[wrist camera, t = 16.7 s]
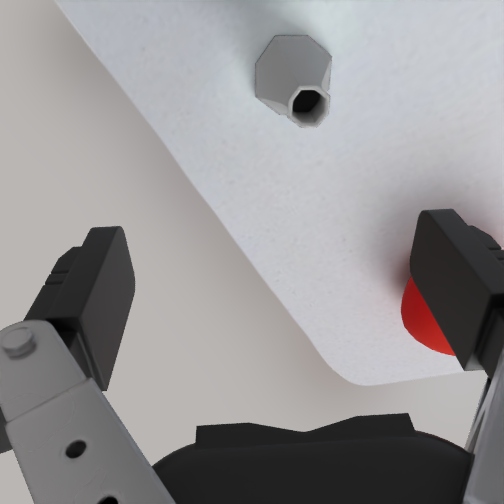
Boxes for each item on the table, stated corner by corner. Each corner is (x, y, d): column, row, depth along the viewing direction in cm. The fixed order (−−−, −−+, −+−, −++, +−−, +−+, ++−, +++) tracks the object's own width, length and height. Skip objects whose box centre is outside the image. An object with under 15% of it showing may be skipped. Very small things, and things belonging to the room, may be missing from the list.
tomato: (518, 224, 50) (578, 280, 42) (492, 307, 58) (538, 369, 49) (394, 236, 50) (428, 293, 42) (384, 317, 58) (411, 380, 49)
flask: (344, 48, 39) (375, 73, 31) (313, 125, 43) (333, 165, 34) (268, 20, 37) (279, 38, 29) (243, 102, 41) (246, 138, 33)
